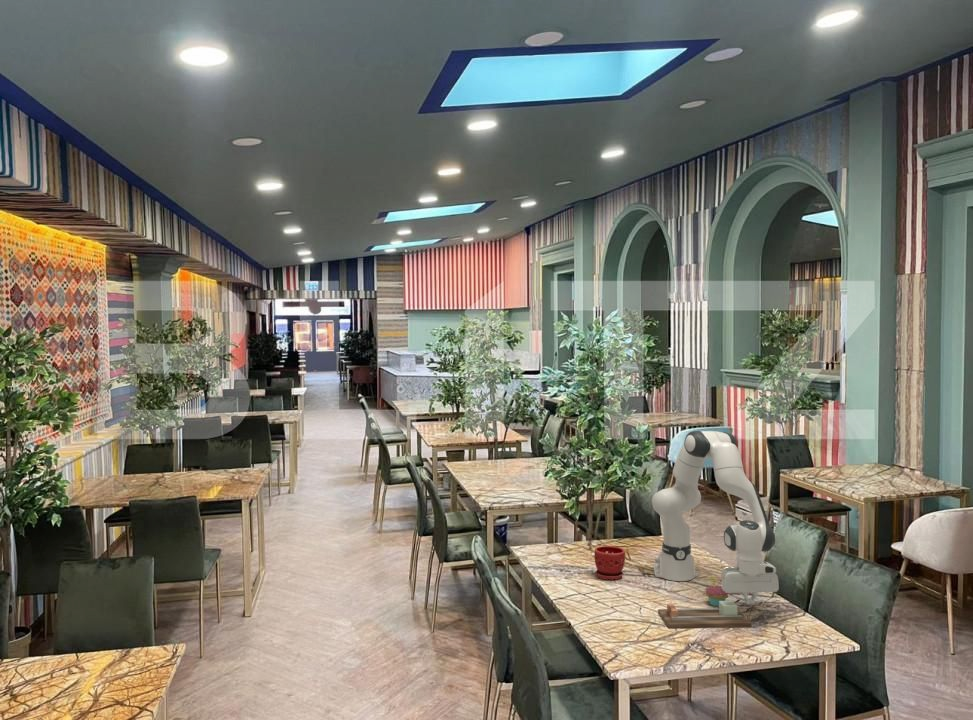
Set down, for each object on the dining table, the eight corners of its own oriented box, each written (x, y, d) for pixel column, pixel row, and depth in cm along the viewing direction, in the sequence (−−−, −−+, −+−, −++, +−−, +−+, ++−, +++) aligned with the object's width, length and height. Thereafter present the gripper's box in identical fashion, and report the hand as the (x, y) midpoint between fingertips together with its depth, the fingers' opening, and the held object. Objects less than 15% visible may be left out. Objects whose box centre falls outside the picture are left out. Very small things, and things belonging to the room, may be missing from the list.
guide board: (658, 613, 268) (658, 600, 268) (737, 612, 269) (737, 598, 269) (668, 628, 255) (668, 614, 254) (751, 627, 255) (751, 613, 255)
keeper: (718, 613, 264) (719, 601, 264) (732, 612, 265) (732, 600, 264) (723, 618, 259) (723, 606, 259) (737, 618, 260) (737, 605, 259)
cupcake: (713, 609, 272) (713, 578, 271) (700, 601, 280) (700, 571, 280) (732, 607, 274) (732, 576, 274) (719, 599, 282) (720, 569, 282)
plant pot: (627, 581, 304) (627, 553, 303) (596, 581, 304) (596, 553, 303) (622, 571, 317) (622, 544, 316) (592, 571, 317) (592, 544, 316)
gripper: (724, 569, 258) (725, 607, 258) (780, 568, 259) (780, 606, 259) (718, 564, 264) (718, 601, 265) (772, 563, 265) (773, 599, 265)
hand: (749, 603), depth 262 cm, fingers closed
